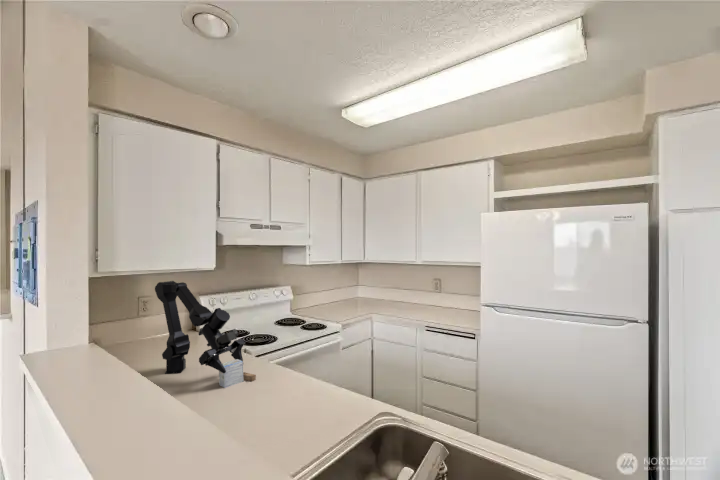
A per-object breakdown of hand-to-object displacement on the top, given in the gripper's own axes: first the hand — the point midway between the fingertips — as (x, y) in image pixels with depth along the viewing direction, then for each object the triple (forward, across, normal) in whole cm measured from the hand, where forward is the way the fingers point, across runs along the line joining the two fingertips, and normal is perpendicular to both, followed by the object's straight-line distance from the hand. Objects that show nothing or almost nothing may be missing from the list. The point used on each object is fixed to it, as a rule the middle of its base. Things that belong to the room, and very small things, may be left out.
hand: (234, 368), depth 129 cm
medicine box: (+4, 0, +6) cm, 7 cm away
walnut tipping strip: (+4, +6, +6) cm, 9 cm away
